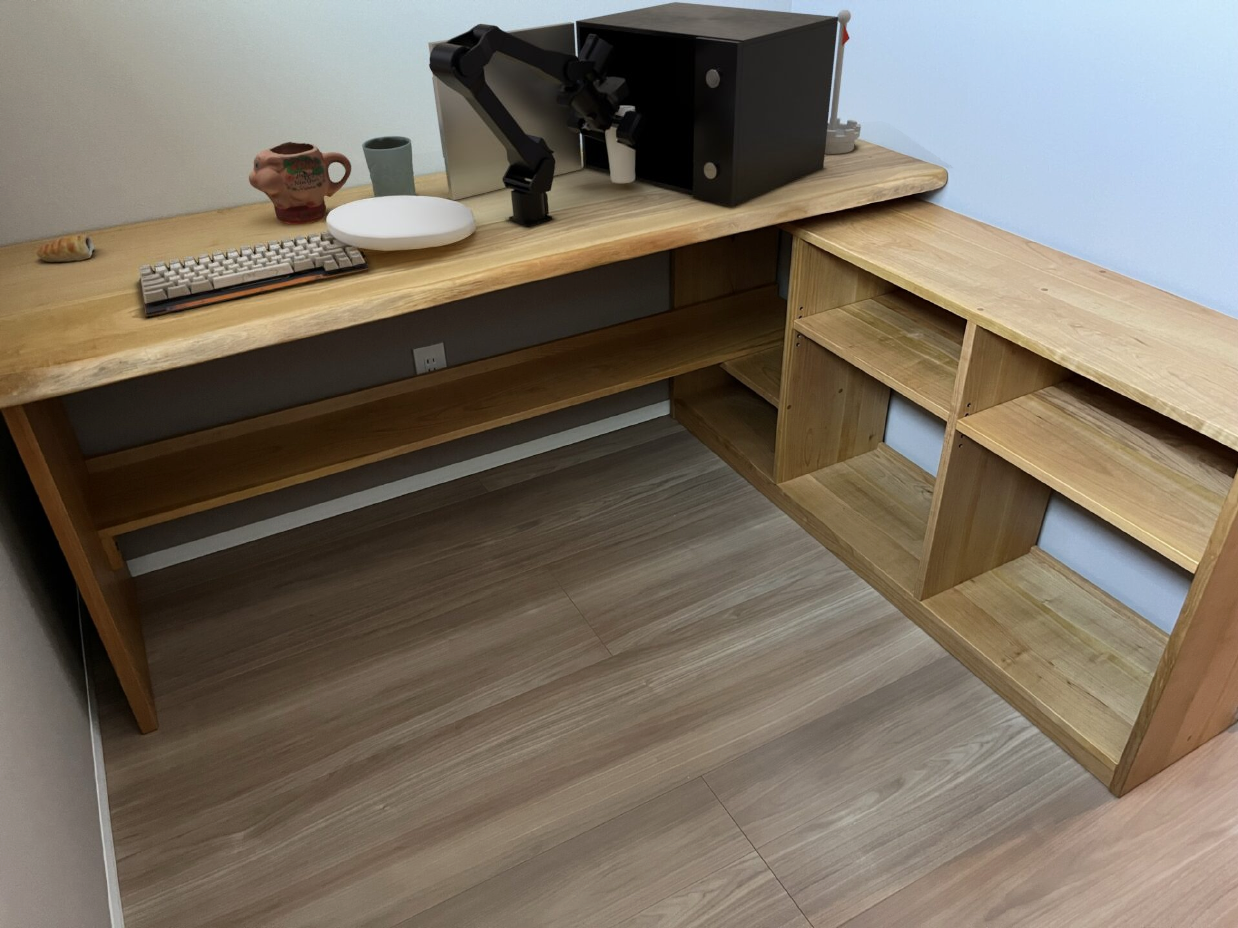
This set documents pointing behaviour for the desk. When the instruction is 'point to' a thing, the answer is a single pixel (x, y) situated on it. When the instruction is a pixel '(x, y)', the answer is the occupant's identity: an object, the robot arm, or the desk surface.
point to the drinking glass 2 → (620, 154)
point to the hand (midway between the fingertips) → (625, 145)
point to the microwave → (720, 96)
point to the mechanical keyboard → (245, 272)
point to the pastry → (67, 249)
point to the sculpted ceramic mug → (297, 180)
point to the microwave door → (530, 102)
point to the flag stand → (838, 133)
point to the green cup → (390, 165)
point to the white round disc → (401, 222)
